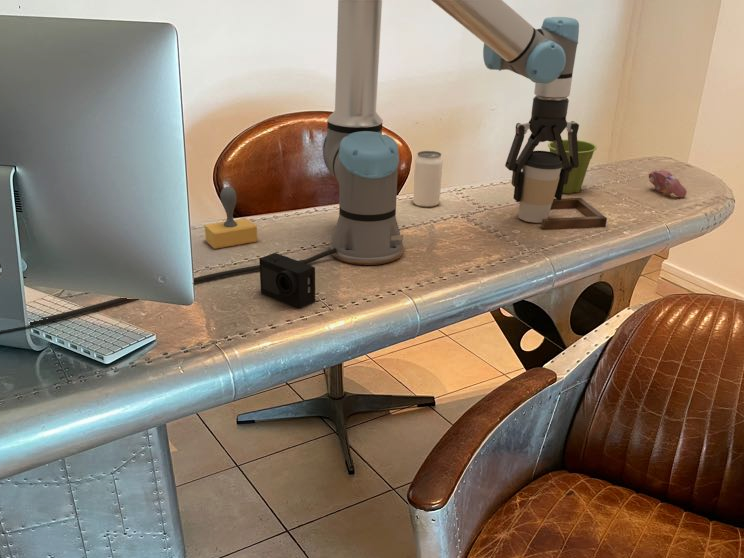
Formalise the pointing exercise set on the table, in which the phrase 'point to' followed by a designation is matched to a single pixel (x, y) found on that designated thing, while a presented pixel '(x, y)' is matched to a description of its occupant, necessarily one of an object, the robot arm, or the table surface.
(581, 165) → the plant pot
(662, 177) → the video game controller
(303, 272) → the digital camera
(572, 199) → the frame
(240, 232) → the rubber stamp
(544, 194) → the coffee cup
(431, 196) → the can
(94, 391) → the table surface
